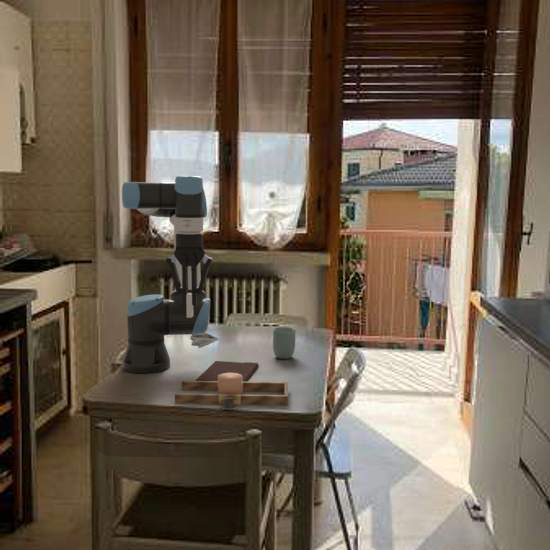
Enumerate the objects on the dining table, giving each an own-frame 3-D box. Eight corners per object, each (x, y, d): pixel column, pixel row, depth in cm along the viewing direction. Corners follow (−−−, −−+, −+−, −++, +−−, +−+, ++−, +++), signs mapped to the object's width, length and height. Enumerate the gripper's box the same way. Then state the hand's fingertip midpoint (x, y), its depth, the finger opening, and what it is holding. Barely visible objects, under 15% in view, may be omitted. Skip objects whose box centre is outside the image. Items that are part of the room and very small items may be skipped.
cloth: (213, 350, 221) (213, 344, 221) (176, 349, 222) (176, 343, 222) (225, 333, 247) (225, 327, 246) (191, 332, 248) (191, 326, 247)
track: (173, 406, 163) (173, 397, 163) (181, 388, 177) (181, 380, 177) (288, 408, 163) (288, 399, 162) (287, 390, 177) (287, 382, 177)
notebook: (195, 384, 183) (195, 377, 183) (214, 365, 202) (214, 359, 202) (243, 388, 180) (243, 381, 180) (258, 368, 199) (258, 362, 199)
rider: (216, 401, 168) (216, 380, 167) (218, 392, 175) (218, 372, 174) (241, 401, 168) (241, 380, 167) (243, 392, 175) (243, 372, 174)
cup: (292, 361, 206) (293, 332, 205) (270, 359, 208) (270, 331, 206) (296, 355, 214) (297, 327, 212) (275, 353, 215) (275, 326, 214)
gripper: (162, 233, 162) (164, 319, 166) (211, 234, 162) (211, 320, 166) (168, 231, 170) (169, 313, 174) (214, 231, 170) (214, 313, 174)
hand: (190, 316), depth 170 cm, fingers closed
